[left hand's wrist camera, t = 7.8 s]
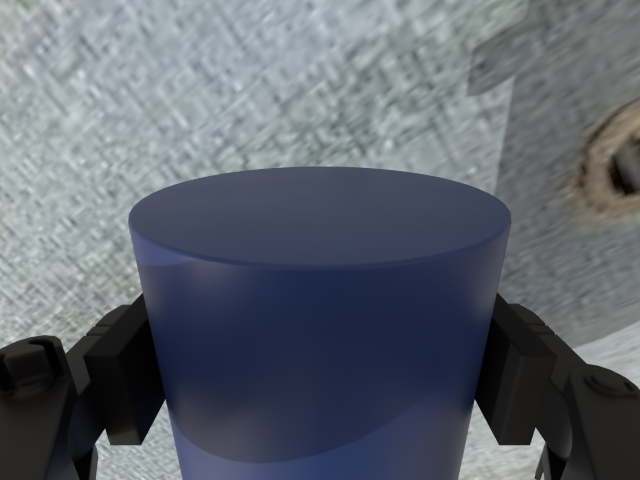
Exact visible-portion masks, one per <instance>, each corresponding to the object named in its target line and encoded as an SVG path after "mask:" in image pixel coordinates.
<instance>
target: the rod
mask: <svg viewBox="0 0 640 480" xmlns="http://www.w3.org/2000/svg"><path fill="white" fill-rule="evenodd" d="M128 224H129V229H130V234H131V238H132V243H133V248H134V252H135V257H136V262H137V267H138V271H139V276H140V281H141V285H142V290H143V295H144V300H145V304H146V309H147V314H148V318H149V323H150V328H151V332H152V337H153V342H154V347H155V351H156V356H157V361H158V365H159V370H160V375H161V379H162V384H163V389H164V394H165V398H166V403H167V408H168V412H169V417H170V422H171V427H172V431H173V436H174V441H175V445H176V450H177V455H178V459H179V464H180V469H181V474H182V478H183V480H458V477H459V472H460V467H461V462H462V457H463V453H464V448H465V443H466V438H467V433H468V429H469V424H470V419H471V414H472V409H473V404H474V400H475V395H476V390H477V385H478V380H479V376H480V371H481V366H482V361H483V356H484V352H485V347H486V342H487V337H488V332H489V327H490V323H491V318H492V313H493V308H494V303H495V299H496V294H497V289H498V284H499V279H500V274H501V270H502V265H503V260H504V255H505V250H506V246H507V241H508V236H509V231H510V226H511V214H510V211H509V210H508V208H507V207H506V205H505V204H504V203H502V202H501V201H500V200H499V199H497V198H496V197H494V196H492V195H491V194H489V193H486V192H484V191H482V190H480V189H477V188H475V187H472V186H469V185H466V184H463V183H459V182H456V181H452V180H448V179H444V178H439V177H434V176H429V175H423V174H417V173H410V172H403V171H395V170H384V169H372V168H356V167H287V168H270V169H258V170H248V171H240V172H232V173H225V174H219V175H213V176H208V177H203V178H198V179H194V180H190V181H186V182H182V183H179V184H175V185H172V186H170V187H167V188H164V189H161V190H159V191H157V192H155V193H152V194H150V195H149V196H147V197H145V198H143V199H142V200H140V201H139V202H138V203H137V204H136V205H135V206H134V207H133V208H132V210H131V211H130V213H129V220H128Z"/></svg>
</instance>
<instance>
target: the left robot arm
mask: <svg viewBox="0 0 640 480" xmlns="http://www.w3.org/2000/svg"><path fill="white" fill-rule="evenodd" d="M165 399H166V398H165V394H164V389H163V384H162V379H161V375H160V370H159V365H158V361H157V356H156V351H155V347H154V342H153V337H152V332H151V328H150V323H149V318H148V314H147V309H146V304H145V300H144V295H143V293H142V294H141V295H140V296H139V297H138V298H137V299H136V300H135V301H134V302H133V304H132V305H121V306H119V307H118V308H116V309H114V310H113V311H111V312H109V313H107V314H106V315H105V316H104V317H103V318H102V319H101V320H100V321H99V322H98V323H97V324H96V326H95V327H93V328H92V329H91V330H90V331H88V332H87V333H86V336H83V337H82V338H81V339H80V340H79V341H78V342H77V343H76V344H75V345H74V346H73V347H72V348H71V349H70V350H69V351H68V352H67V353H66V354H65V352H64V349H63V346H62V343H61V340H60V339H58V338H57V337H55V336H47V335H43V336H35V337H30V338H27V339H23V340H20V341H17V342H14V343H12V344H10V345H8V346H6V347H3V348H2V349H0V480H96V472H97V463H98V453H97V448H96V445H95V443H96V441H97V440H98V438H99V437H100V435H101V434H102V432H103V431H104V429H106V433H107V436H108V439H109V442H110V445H141V444H142V442H143V441H144V439H145V437H146V435H147V433H148V431H149V429H150V427H151V425H152V424H153V422H154V420H155V418H156V416H157V414H158V412H159V410H160V408H161V406H162V405H163V403H164V401H165ZM475 400H476V402H477V404H478V406H479V408H480V410H481V412H482V414H483V415H484V417H485V419H486V421H487V423H488V425H489V427H490V429H491V431H492V433H493V434H494V436H495V438H496V440H497V442H498V444H499V445H530V443H531V440H532V437H533V434H534V430H535V427H536V428H537V430H538V431H539V433H540V434H541V436H542V437H543V439H544V440H545V445H544V448H543V451H542V454H541V457H540V460H539V463H538V466H537V469H536V474H535V479H537V480H540V479H541V476H542V473H543V472H544V479H545V480H640V390H639V388H638V387H637V386H636V385H635V384H633V383H632V382H631V381H629V380H628V379H627V378H625V377H624V376H622V375H620V374H618V373H616V372H614V371H612V370H609V369H606V368H603V367H600V366H597V365H590V364H587V363H585V362H584V361H583V360H582V359H581V358H580V357H579V356H578V355H577V354H576V353H575V352H574V351H573V350H572V349H571V348H570V347H569V346H568V345H567V344H566V343H565V342H564V341H563V340H562V339H561V338H560V337H559V336H558V335H555V334H554V332H553V331H552V330H551V329H550V328H549V327H548V326H545V323H544V322H543V321H542V320H541V319H540V318H539V317H538V316H537V315H536V314H535V313H534V312H532V311H530V310H528V309H527V308H525V307H523V306H521V305H520V304H508V303H507V302H506V301H505V300H504V299H503V298H502V297H501V296H500V295H499V294H498V293H497V294H496V299H495V303H494V308H493V313H492V318H491V323H490V327H489V332H488V337H487V342H486V347H485V352H484V356H483V361H482V366H481V371H480V376H479V380H478V385H477V390H476V395H475Z"/></svg>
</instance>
